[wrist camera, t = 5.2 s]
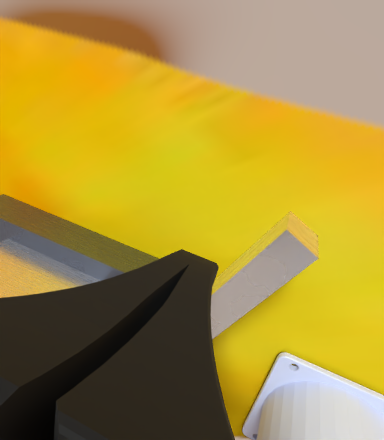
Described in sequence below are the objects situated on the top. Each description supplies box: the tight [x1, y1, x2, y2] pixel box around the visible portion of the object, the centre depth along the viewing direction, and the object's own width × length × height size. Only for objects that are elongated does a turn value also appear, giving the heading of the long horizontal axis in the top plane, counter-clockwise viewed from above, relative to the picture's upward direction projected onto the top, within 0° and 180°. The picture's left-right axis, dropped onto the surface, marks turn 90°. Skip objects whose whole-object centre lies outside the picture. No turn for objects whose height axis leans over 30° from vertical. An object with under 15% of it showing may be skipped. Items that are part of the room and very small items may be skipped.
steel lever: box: [211, 211, 318, 339], centre depth 18 cm, size 2×18×5 cm, turn 142°
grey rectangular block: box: [0, 239, 100, 298], centre depth 19 cm, size 7×4×4 cm, turn 76°
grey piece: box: [0, 194, 158, 281], centre depth 22 cm, size 13×7×2 cm, turn 76°
